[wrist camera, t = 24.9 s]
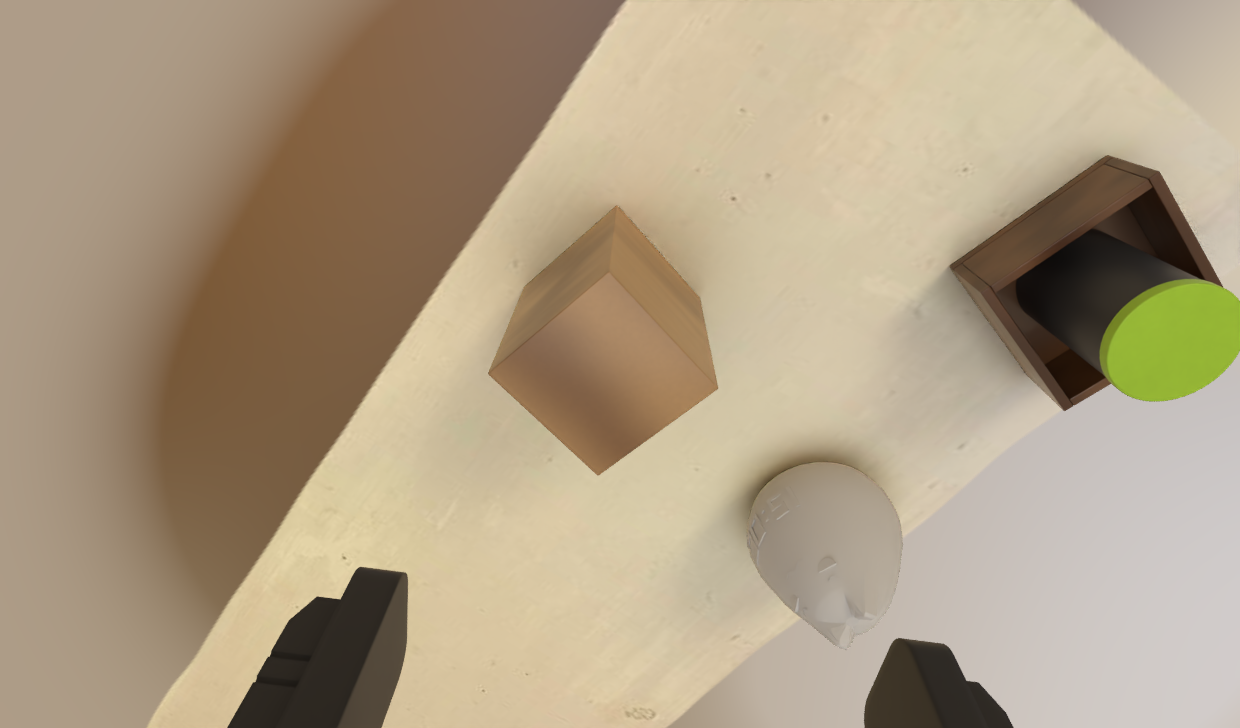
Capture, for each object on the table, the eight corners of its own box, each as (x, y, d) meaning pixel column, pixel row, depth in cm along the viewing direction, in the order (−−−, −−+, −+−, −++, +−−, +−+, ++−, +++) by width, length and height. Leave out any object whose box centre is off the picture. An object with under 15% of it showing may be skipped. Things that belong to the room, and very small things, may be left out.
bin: (1107, 154, 41) (1160, 170, 37) (1180, 281, 44) (1236, 309, 40) (948, 266, 44) (980, 293, 40) (1027, 376, 47) (1064, 411, 43)
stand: (617, 204, 43) (609, 271, 32) (700, 298, 45) (718, 388, 35) (523, 287, 45) (487, 373, 35) (607, 371, 48) (598, 476, 37)
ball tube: (1095, 203, 41) (1216, 256, 33) (1142, 281, 43) (1268, 351, 35) (994, 272, 43) (1083, 339, 35) (1044, 343, 45) (1140, 424, 37)
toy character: (788, 422, 49) (828, 538, 39) (912, 479, 51) (984, 604, 40) (714, 527, 54) (732, 657, 43) (831, 576, 55) (877, 712, 45)
